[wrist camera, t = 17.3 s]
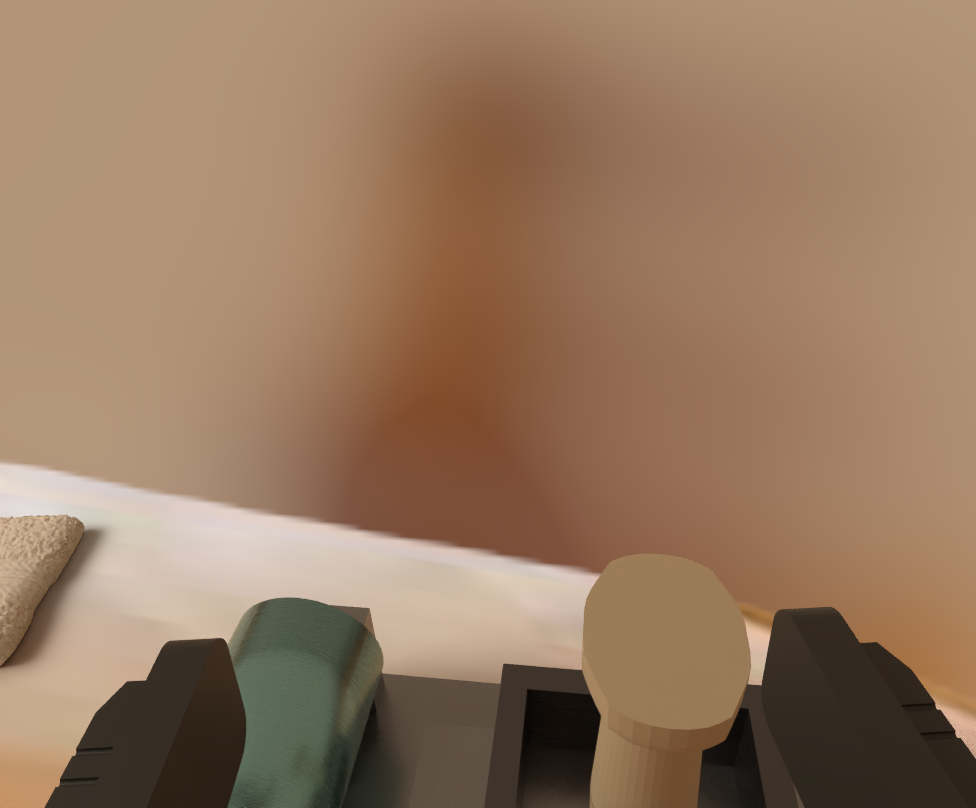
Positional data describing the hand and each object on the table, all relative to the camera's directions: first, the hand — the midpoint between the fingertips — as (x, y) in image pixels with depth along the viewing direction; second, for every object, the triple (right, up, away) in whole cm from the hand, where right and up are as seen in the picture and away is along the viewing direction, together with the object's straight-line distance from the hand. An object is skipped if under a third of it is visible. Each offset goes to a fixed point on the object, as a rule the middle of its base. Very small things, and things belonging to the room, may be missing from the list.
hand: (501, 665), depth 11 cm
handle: (+6, -16, +20) cm, 26 cm away
